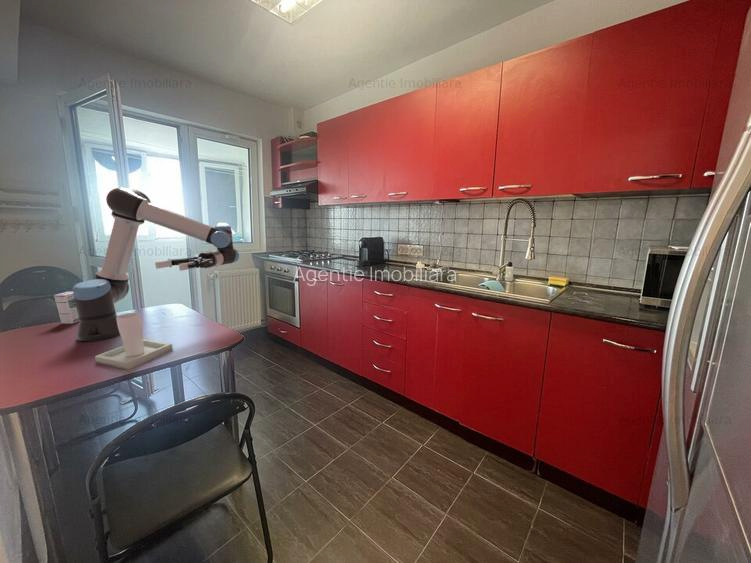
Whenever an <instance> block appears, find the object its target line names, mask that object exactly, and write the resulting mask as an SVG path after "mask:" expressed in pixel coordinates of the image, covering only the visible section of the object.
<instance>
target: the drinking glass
mask: <svg viewBox="0 0 751 563" xmlns="http://www.w3.org/2000/svg"><path fill="white" fill-rule="evenodd" d="M116 320H117V326H118V330H119V333H120V334H119V336H120V338H121V341H122V346H124V348H125V352H126V355H127V356H129V357H133V356H138V355H140V354H142V353H144V351H145V350H144V342H143V339H144V330H143V321H142V316H141V314H140V312H128V313H124V314H120V315H117V317H116Z"/></svg>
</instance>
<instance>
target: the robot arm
mask: <svg viewBox="0 0 751 563" xmlns="http://www.w3.org/2000/svg"><path fill="white" fill-rule="evenodd" d="M105 199H106V205H107V206H108V208H109V209H110V210H111V211H112V212H111V213H110V214H111V216H112V217H113V219H114V221H113V225H112V229H111V233H110V235H109V236H110V237H109V241H108V245H107V248H106V252H105V257H104V260H103V263H102V267H101V269H100V270H99V271H96V272H95V275H94V276H95V277H94V279H90V280H89V279H88V280H86V281H81V282H78V283H75V285H74V286H72V292H73V297H74V300H75V304H76V308H77V312H78V316H79V321H78V327H77V332H76V337H77V338H76V339H77V341H79V342H82V341H87V342H96V341H102V340H106V339H110V338H114V337H116V336H118V335H119V336H120V333H119V330H118V326H117V320H116V317H117V316H118V315H117V313H116V307H115V304H116V303H117V302H119V301H121V300H123V299H124V298H125V297H126V296H127V295H128V293H129V291H130V284H129V280H130V277H129V276H128V274H127V272H128V268H129V264H130V261H131V256H132V252H133V249H134V245H135V241H136V238H137V234H138V230H139V226H141V225H144V223H145V221H146V222H149V223H153V224H154V225H158V226H161V227H163V228H165V229H169V230H172V231H174V232H177V233H180V234H183V235H186V236H188V237H191V238H193V239H196V240H200V241H202V242H206V243H207V244H210V245H213V246H214V247H215V248H216V250H211V251H210V250H209V251H204V252H201V253H199V254H198V256H193V257H191V256H190V257H183V258H181V257H180V258H172V259H170V258H169V259H167V260H161V261H156V262H154V265H155V269H156V270H157V269H158V270H159V269H164V268H172V267H174V266H178V268H179V271H181V272H182V271H187V270H191V269H198V268H201V269H203V268H204V269H209V268H212V267H215V268H218V267H219V266H224V265H230V264H234V263H237V262H238V261H239V259H240V254H239V253H240V252H239V251H238V250H237V249H236V248H234V244H233V242H234V241H233V230H232V226H230V225H216V226H215V227H212V226H210V225H208V224H205V223H202V222H201V221H200V222H199V221H197V220H195V219H192V218H190V217H188V216H185V215H182V214H180V213H177V212H175V211H171V210H169V209H167V208H164V207H161V206H158V205H156V204H153V203H152V202H151V199H150V198H149V196H148V195H147V194H145V193H144V192H142V191H141V190H140V191H139V190H138V189H133V188H127V187H117V188H113V189H111V190H110V191H109V192H108V193H107V195H106V198H105Z"/></svg>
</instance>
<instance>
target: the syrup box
mask: <svg viewBox="0 0 751 563" xmlns="http://www.w3.org/2000/svg"><path fill="white" fill-rule="evenodd" d="M54 301H55V304H56V307H57V310H58V315H59V318H60V322H61V324H62V325H63V324H65V325H66V324H67V325H69V324H70V325H71V324H75V323H79V322H80V321H79V316H78V312H77V308H76V304H75V300H74V297H73V291H65V292H62V293H58V294H54Z"/></svg>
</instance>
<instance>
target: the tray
mask: <svg viewBox="0 0 751 563" xmlns="http://www.w3.org/2000/svg"><path fill="white" fill-rule="evenodd" d="M143 342H144V350H145V351H144V353H142V354H140V355H138V356H133V357H129V356H127V355H126V352H125V348H124V345H121V346H118V347H116V348H113V349H111V350H108V351H105V352H103V353H100V354H97V355H95V356H94V359H95V362H97V364H100V363H101V365H104V364H105V365H104V366H108V365H109V367H112V368H117V369H122V370H125V371H129V370H131V369H134V368H135V367H138V366H140V365H143V364H145V363H147V362H149V361H151V360H154V359H155V358H158V357H160V356H162V355H164V354H167V353H169V352H172V351H173V343H168V342H163V341H159V340H158V341H157V340H152V339H149V338H148V339H147V338H143Z"/></svg>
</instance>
